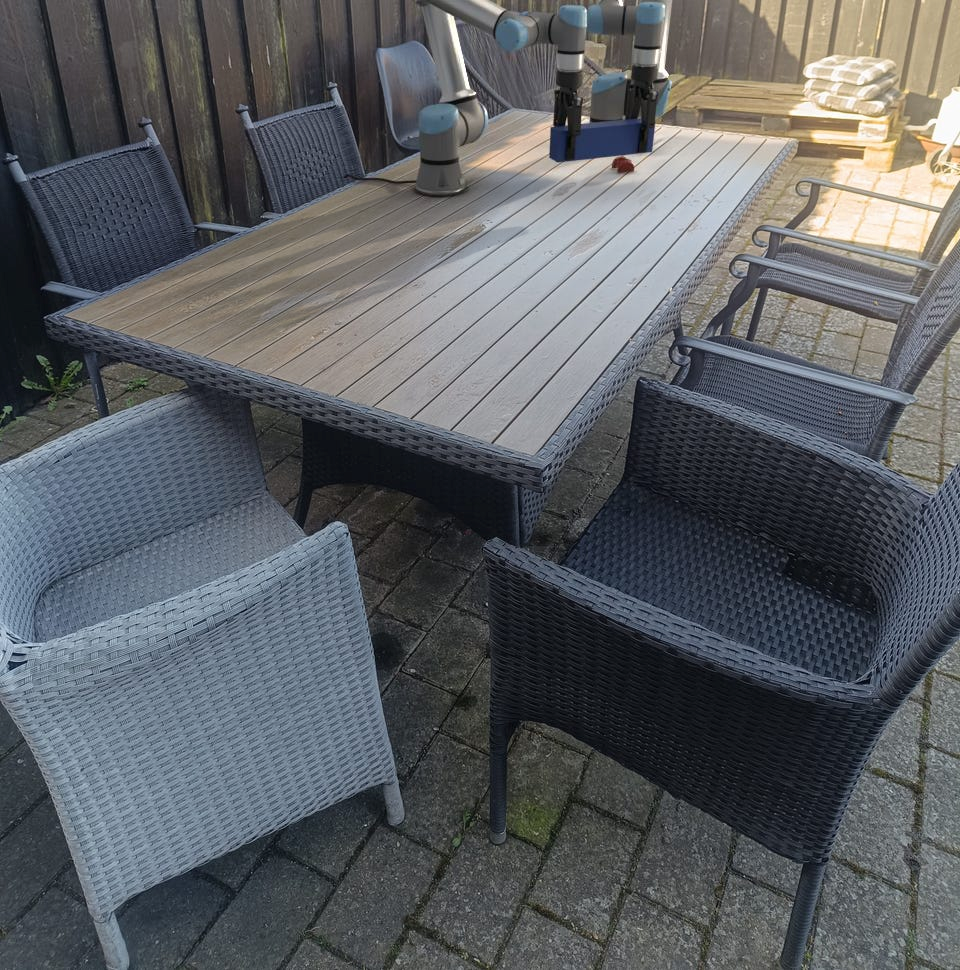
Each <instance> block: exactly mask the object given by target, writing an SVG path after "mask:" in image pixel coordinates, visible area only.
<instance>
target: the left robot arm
mask: <svg viewBox="0 0 960 970" xmlns="http://www.w3.org/2000/svg"><path fill="white" fill-rule="evenodd" d="M413 2H414V4H416V5H417V6H419V7H420V8H421V12H422V17H423V21H424V24H425V29H426V33H427V39H428V42H429V46H430V50H431V54H432V58H433V62H434V66H435V67H434V68H435V70H436V75H437V79H438V83H439V87H440V88H439V89H440V91H441V97H440V99H439V101H438V103H436V104H430V105H428V106H425V107H424V108H422V109H421V110H420V112H419V114H418V126H417V127H418V134H419V135H418V136H419V138H418V139H419V157H420V158H419V159H420V161H419V162H420V164H419V168H418V172H417V176H416V179H415V180H414V179H413V180H392V179H388V178H382V177H359V176H355V175H353V174H350V173H347V174H345V175H344V176H343V177H342V179H346V178H351V179H354V180H356V181H378V182H379V181H380V182H386V183H390V184H396V185H397V184H398V185H402V184H415V185H414V186H415V192H417V193H418V194H420V195H424V196H430V197H450V196H455V195H459V194H461V193H463V192H464V191H466V177H465V176H463V172H462V169H461V165H460V148H462V147H464V146H466V145H468V144H469V145H470V144H473V143H475V142H476V141H478V140H479V139H480V138H482V137H483V136H484V134H485V133H486V131H487V129H488V125H489V115H488V111H487V107H486V106H485V105H484V104H482V102H481V101H479V100H478V98H477V97H478V96H477V92H476V91H475V90H473V89H472V88H471V87H470V84H469V80H468V75H467V71H466V66H465V61H464V57H463V53H462V47H461V44H460V38H459V34H458V29H457V25H456V21H455V18H456V19H457V20H460V22H463V23H465V24H467V25H468V26H470V27H472V28H473V29H476V30H478V31H479V32H481V33H483V34H485V35H486V36H489V37H490V38H492V39H494V40H496V43H497V44H498V46H499V47H500V49H502V50H503V51H506V52H518V51H520V50H523V49H526V48H529V47H532V46H537V45H540V44H541V45H542V44H543V45H555V46H557V52H556V65H555V66H556V69H557V70H556V72H555V85H556V86H557V87H559V89H554V94H553V95H554V106H553V120H552V125H553V126H552V127H555V126H565V125H568V135H566V153H565V160H573V159H575V145H576V136H577V135H580V134H581V124H582V112H583V111H582V110H583V103H584V97H579V89H578V88H579V87H581V86H582V85H583V83H584V70H583V69H584V68H585V59H586V55H585V52H586V51H585V50H586V48H585V47H586V36H587V15H588V10H587V8H586V7H585V6H584V5H575V4H574V5H572V4H571V5H570V4H567V5H561V6H560V7H559V9H558V12H557V13H554V12H553V13H552V12H541V11H536V10H531V11H523V12H521V13H520V15H517V14H515V13H514V12H511V11H509V10H508V9H506V8H504V7H502V6H501V5H499V4H497V3H495V2H493V1H491V0H413Z"/></svg>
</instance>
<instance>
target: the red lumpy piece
mask: <svg viewBox="0 0 960 970" xmlns="http://www.w3.org/2000/svg"><path fill="white" fill-rule="evenodd" d="M611 169H616V172H617V174H620V173H621V174H622V173H634V172H635V165H634V163H633V160H631V159H630V158H627V157H626V156H624V155H622V156H616V157H615V158H613V160H612V163H611Z"/></svg>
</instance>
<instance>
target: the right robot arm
mask: <svg viewBox="0 0 960 970" xmlns="http://www.w3.org/2000/svg"><path fill="white" fill-rule="evenodd" d="M624 3H625V0H597V4H592V5H589V7H588V9H587V28H586V32H587V33H588V34H589V35H598V36H630V37H631V36H632V37H634V44H633V50H632V51H633V52H632V60H631V61H632V66H631V71H630V72H631V73H630V78H628V74H626V73H621V72H616V73H615V72H614V73H607V74H602V75H599V76H597V77H595V78H594V79H593V81H592V86H591V91H590V94H591V96H590V97H591V98H590V108H589V109H590V111H589V122H588V123H596V122H606V121H616V120H626V119H637V118H641V119H642V128H640V133H639V143H638V153H640V152H647V144H648V138H649V130H650V129H651V128H654V127H655V128H656V118H660V117H661V118H662V116H664V115H665V112H666V108H667V105H668V101H669V97H670V93H671V88H672V84H673V83H672V80H670V79H669V73H668V72H667V71H666V69H665V66H666V59H667V52H668V51H667V49H668V42H669V41H668V40H669V32H670V24H671V17H672V16H671V15H672V6H673V0H645V1H643V2H640V3H639V4H638V5H624ZM640 154H641V153H640Z"/></svg>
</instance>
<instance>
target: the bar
mask: <svg viewBox="0 0 960 970" xmlns="http://www.w3.org/2000/svg"><path fill="white" fill-rule="evenodd" d="M640 128H642V119H641V117H638V118H637V119H626V120H625V119H623V120H616V121H606V122H596V123H589V122H586V123H581V134H580V135H577V136H576V145H575V159H573V160H565V153H566V135H568V124H566V125H565V126H550V128H549V129H550V132H549V153H548V158H549V159H550V160H552V161H554V162H555V163H558V164H559V163H567V162H576V161H577V162H578V161H585V160H593V159H594V160H595V159H603V158H611V157H620V156H630V155H639V154H647V153H653V149H654V148H653V146H654V139H655V131H656V126H655V127H654V128H651V129H650V130H649V138H648V144H647V152H640V153H638V143H639V133H640Z"/></svg>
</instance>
